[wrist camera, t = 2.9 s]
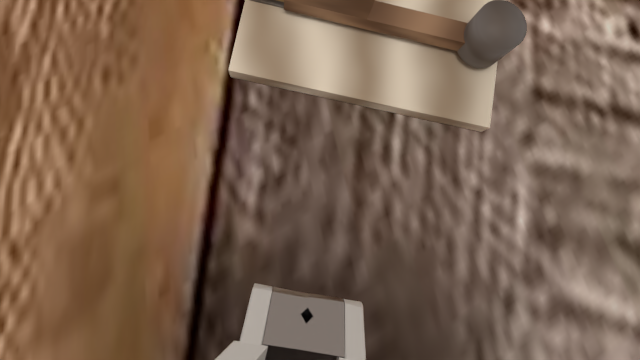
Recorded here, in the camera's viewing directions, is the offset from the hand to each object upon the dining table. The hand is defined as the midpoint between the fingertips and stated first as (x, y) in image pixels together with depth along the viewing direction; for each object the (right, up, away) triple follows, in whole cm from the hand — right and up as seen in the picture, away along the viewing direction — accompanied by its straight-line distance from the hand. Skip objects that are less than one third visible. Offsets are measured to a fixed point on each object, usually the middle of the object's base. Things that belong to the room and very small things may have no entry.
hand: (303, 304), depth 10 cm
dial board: (+5, +19, +19) cm, 28 cm away
